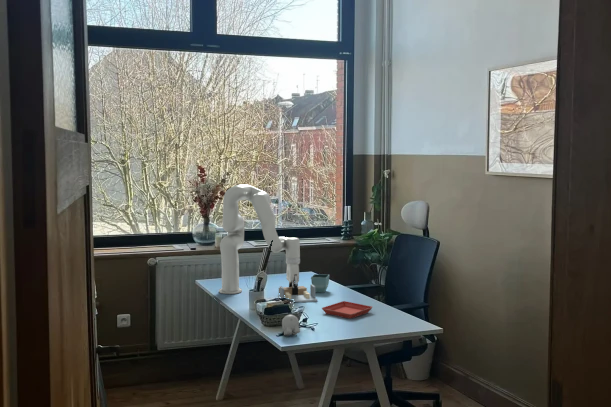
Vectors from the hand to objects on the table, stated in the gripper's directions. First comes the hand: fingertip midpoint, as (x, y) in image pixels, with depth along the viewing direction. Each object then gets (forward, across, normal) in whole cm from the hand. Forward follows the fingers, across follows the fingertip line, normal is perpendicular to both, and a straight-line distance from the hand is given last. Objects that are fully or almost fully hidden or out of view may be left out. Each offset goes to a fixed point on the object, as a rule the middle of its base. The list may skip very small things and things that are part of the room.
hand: (293, 293), depth 346 cm
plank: (+1, 0, 0) cm, 1 cm away
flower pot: (+2, -4, +16) cm, 17 cm away
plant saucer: (+2, +44, +15) cm, 46 cm away
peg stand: (+1, +11, -1) cm, 11 cm away
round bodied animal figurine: (+2, +70, -20) cm, 73 cm away
